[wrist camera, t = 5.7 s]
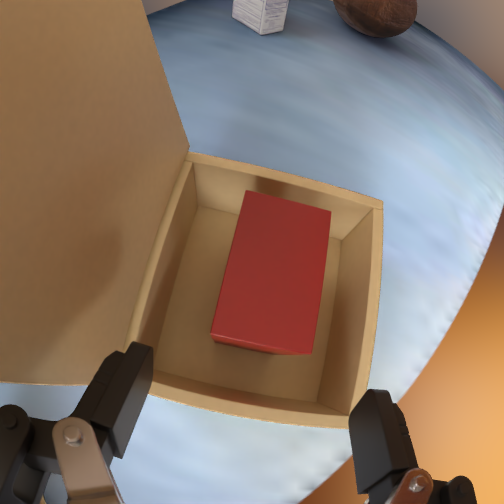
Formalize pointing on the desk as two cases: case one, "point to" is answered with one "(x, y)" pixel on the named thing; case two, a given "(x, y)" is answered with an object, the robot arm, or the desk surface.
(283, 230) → the red box
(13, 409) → the robot arm
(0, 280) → the chest lid
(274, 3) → the medicine box
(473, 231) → the desk surface
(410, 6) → the brown wooden egg
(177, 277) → the chest
